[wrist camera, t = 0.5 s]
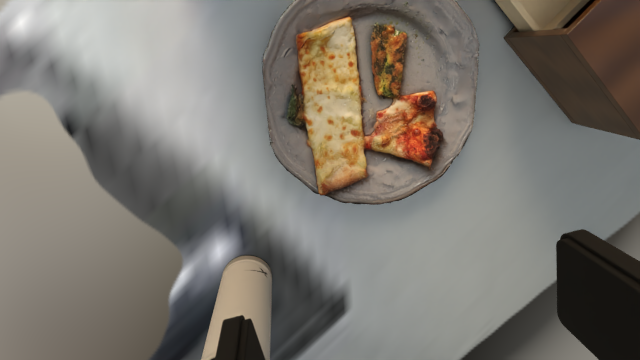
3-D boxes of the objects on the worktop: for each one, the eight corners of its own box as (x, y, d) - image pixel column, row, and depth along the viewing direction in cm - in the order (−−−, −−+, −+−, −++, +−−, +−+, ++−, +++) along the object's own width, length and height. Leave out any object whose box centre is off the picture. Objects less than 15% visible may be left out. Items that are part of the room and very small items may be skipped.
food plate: (460, 190, 49) (474, 201, 45) (276, 207, 47) (276, 219, 44) (476, -31, 41) (493, -38, 37) (254, -21, 39) (252, -28, 35)
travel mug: (265, 247, 48) (257, 373, 30) (276, 291, 51) (275, 434, 32) (216, 257, 48) (176, 390, 29) (229, 301, 50) (200, 450, 32)
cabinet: (503, 38, 43) (566, 34, 34) (622, -85, 40) (729, -127, 31) (572, 123, 47) (646, 141, 38) (685, 17, 45) (795, 8, 35)
